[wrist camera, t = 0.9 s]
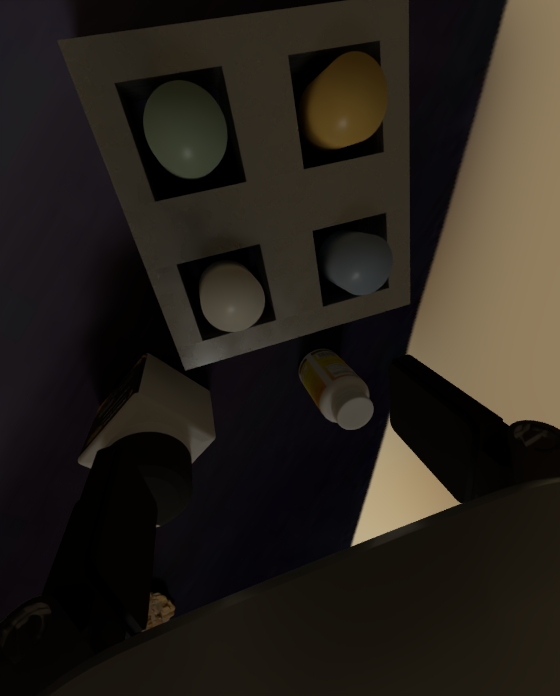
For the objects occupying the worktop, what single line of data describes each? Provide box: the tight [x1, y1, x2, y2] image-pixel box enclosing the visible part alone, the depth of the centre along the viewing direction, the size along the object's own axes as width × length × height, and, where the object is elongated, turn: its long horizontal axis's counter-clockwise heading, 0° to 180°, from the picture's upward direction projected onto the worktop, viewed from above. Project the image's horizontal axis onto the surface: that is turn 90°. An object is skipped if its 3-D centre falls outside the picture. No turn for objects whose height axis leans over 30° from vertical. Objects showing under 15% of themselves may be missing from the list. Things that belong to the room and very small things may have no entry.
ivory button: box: [199, 260, 265, 332], centre depth 24 cm, size 4×4×4 cm
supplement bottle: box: [299, 349, 373, 430], centre depth 30 cm, size 5×5×8 cm
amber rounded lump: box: [298, 51, 388, 151], centre depth 21 cm, size 4×4×4 cm
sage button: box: [143, 80, 227, 180], centre depth 19 cm, size 4×4×4 cm
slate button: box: [318, 230, 393, 296], centre depth 25 cm, size 4×4×4 cm
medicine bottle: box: [78, 353, 215, 527], centre depth 25 cm, size 7×7×12 cm
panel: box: [57, 0, 410, 371], centre depth 24 cm, size 20×20×4 cm
